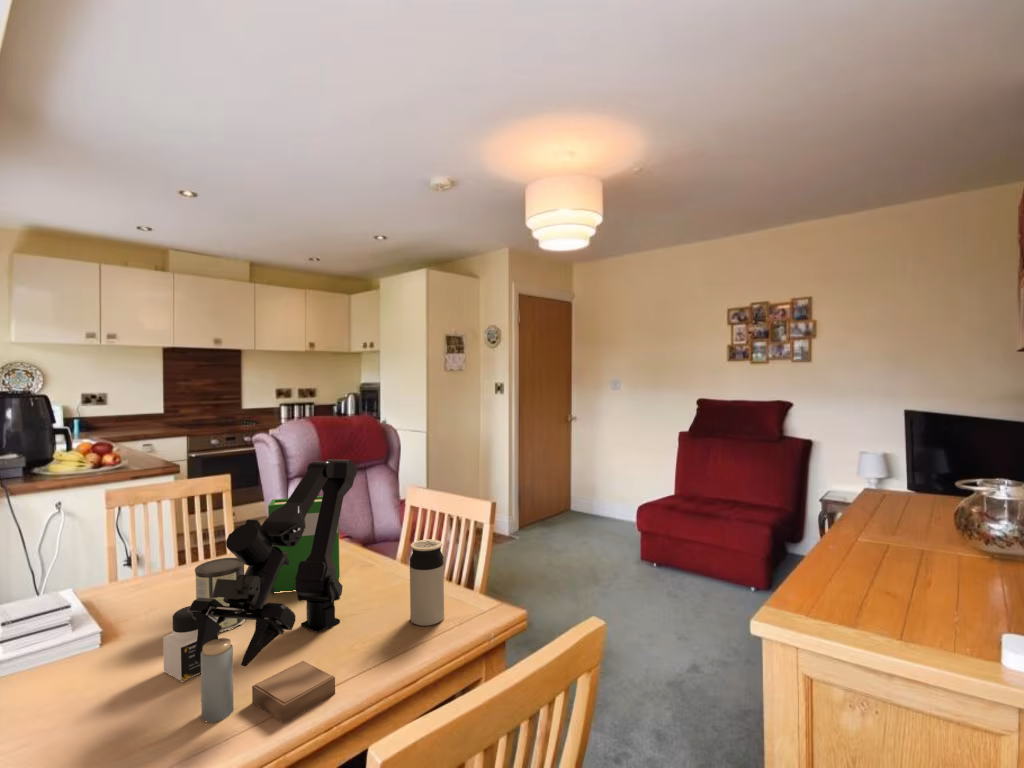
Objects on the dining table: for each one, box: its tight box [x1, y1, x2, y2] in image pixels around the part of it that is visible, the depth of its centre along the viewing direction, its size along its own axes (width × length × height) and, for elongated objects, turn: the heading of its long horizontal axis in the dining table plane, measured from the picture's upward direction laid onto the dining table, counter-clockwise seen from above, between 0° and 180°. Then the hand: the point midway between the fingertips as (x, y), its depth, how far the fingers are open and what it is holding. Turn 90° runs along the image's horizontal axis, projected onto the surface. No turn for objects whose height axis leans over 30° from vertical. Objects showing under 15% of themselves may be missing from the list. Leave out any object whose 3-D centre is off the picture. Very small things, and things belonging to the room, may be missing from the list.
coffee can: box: [194, 557, 246, 633], centre depth 123 cm, size 10×10×14 cm
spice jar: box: [200, 637, 235, 723], centre depth 90 cm, size 5×5×12 cm
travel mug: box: [409, 538, 445, 627], centre depth 125 cm, size 8×8×18 cm
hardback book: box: [267, 495, 341, 592], centre depth 146 cm, size 18×7×24 cm, turn 107°
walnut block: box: [251, 660, 336, 724], centre depth 94 cm, size 10×10×3 cm
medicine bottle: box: [162, 605, 219, 682], centre depth 104 cm, size 7×7×12 cm
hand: (219, 663), depth 91 cm, fingers open, 9 cm apart
